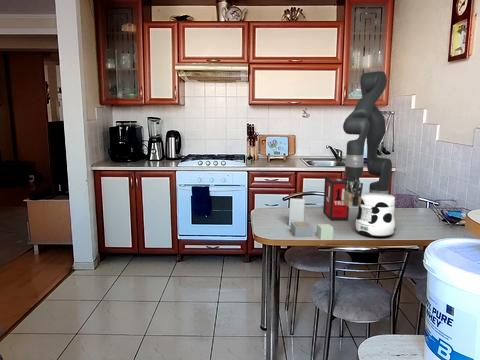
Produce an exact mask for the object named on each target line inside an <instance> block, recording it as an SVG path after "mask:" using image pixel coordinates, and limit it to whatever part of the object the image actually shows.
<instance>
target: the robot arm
mask: <svg viewBox="0 0 480 360" xmlns="http://www.w3.org/2000/svg"><path fill="white" fill-rule="evenodd" d="M387 78H388V77H387V73H386V72H385V71H381V70H379V71H372V72H371V71H368V72H363V73H362V74H361V76H360V78H359V80H360V81H359V83H360V91H361V98H360V99H358V101H357V103H356V105H355V107H354V109H353V111H352V112H351V113H350V114H349V115H348V116H347V117H346V118H345V119H344V122H343V124H342V129H343V132H344V133H345V134H347V135H353V136H354V135H357V138H356V139H353V140H348V141H347V143H346V155H345V162H344V175H345V177H344V178H343V179H344V181H345V191H351V192H352V193H353V203H352V205H353V206H357V205H358V197H359V196H361V194H362V193H363V186H364V183H363V182H361V181H360V178H361V177H363V176H364V161H365V158H364V153H365V143H366V151H367V152H366V168H367V173H368V174H369V175H371V176H376V177H379V180H377V181H373V182H371V183H370V184H369V187H368V189H369V190H368V193H383V194H388V195H389V190H390V185H391V178H392V171H393V163H392V159H390V158H386V157H379V156H378V148H379V145H380V144H381V143H382V140H383V139H384V137H385V134H386V132H387V131H386V130H387V129H386V128H387V127H386V118H385V116H384V114H383V113H382V112H381V110H380V109H379V108H378V107H377V105H376V103H377V101H379V99H380V97H381V96H382V94H383V93H384V91H385V90H386V87H387V85H388V84H387V83H388V79H387Z"/></svg>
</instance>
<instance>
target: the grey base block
mask: <svg viewBox="0 0 480 360" xmlns="http://www.w3.org/2000/svg"><path fill="white" fill-rule="evenodd" d="M313 227H314V226H313V225H312V224H311V223H310V222H309V221H304V222H291V226H290V233H291V234H292V236H293V237H294V236H295V237H294V238H311V237H312V238H313V230H314V228H313Z"/></svg>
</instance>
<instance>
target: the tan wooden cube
mask: <svg viewBox="0 0 480 360" xmlns="http://www.w3.org/2000/svg"><path fill="white" fill-rule="evenodd" d="M361 195H362V194H361ZM352 203H353V193H352V192H351V191H344V204H345V205H346V206H348V207H349V208H351V207H353V208H354V207H358V208H359V206H361V196H359V197H358V205H357V206H353V205H352Z"/></svg>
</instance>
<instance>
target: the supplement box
mask: <svg viewBox="0 0 480 360" xmlns="http://www.w3.org/2000/svg"><path fill="white" fill-rule="evenodd" d="M305 210H306V199H305V198H290V200H289V212H288V213H289V215H288V227H291V222H305V213H306V211H305Z"/></svg>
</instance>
